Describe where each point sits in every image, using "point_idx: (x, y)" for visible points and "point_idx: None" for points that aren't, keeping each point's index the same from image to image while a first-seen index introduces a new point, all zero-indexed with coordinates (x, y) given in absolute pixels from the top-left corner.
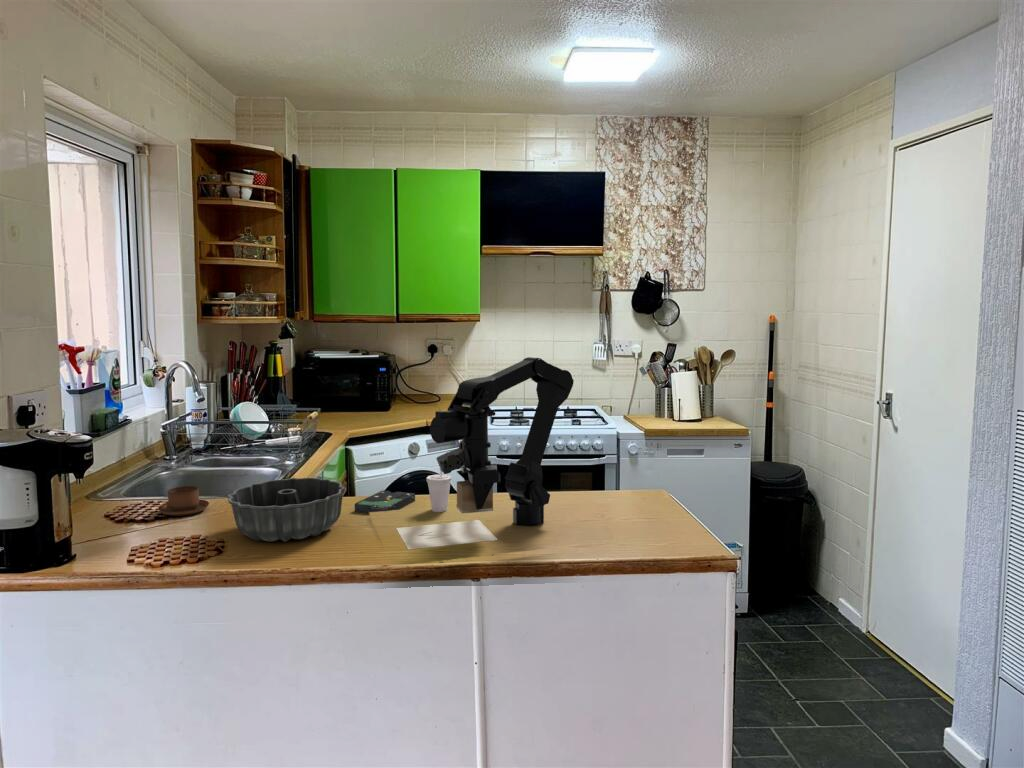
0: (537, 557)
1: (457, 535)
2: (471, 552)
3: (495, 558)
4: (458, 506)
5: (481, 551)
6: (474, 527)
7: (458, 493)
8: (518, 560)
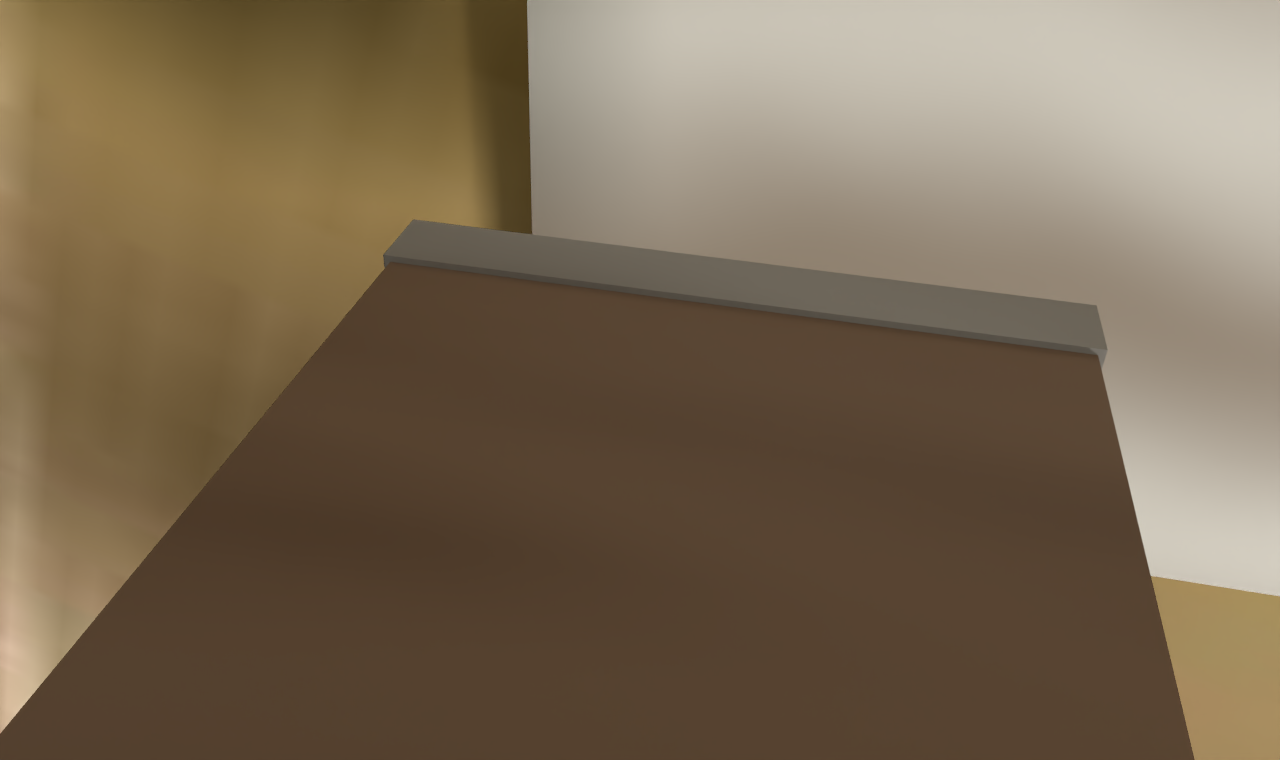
0: (88, 572)
1: (1005, 40)
2: (364, 24)
3: (91, 222)
4: (871, 328)
5: (374, 168)
6: (1264, 450)
7: (828, 648)
8: (14, 402)
